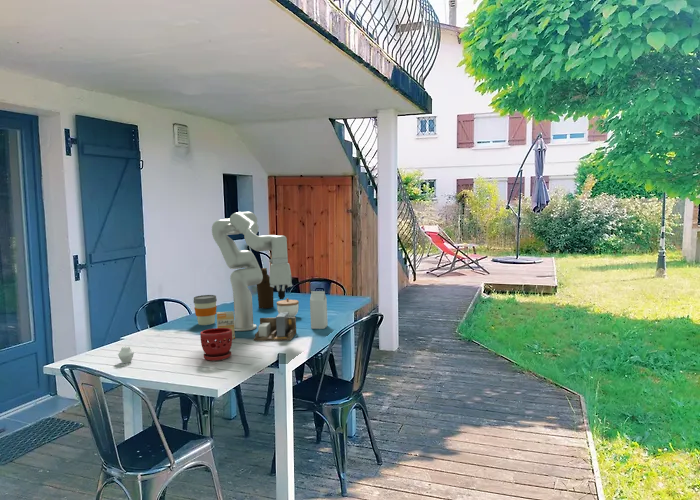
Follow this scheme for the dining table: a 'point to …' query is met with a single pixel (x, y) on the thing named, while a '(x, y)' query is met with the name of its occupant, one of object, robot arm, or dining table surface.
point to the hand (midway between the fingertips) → (281, 298)
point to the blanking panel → (282, 324)
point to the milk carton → (318, 310)
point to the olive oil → (265, 291)
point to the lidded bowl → (288, 306)
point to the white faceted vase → (126, 354)
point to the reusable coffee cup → (205, 309)
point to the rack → (273, 330)
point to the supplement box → (226, 321)
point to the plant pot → (216, 343)
